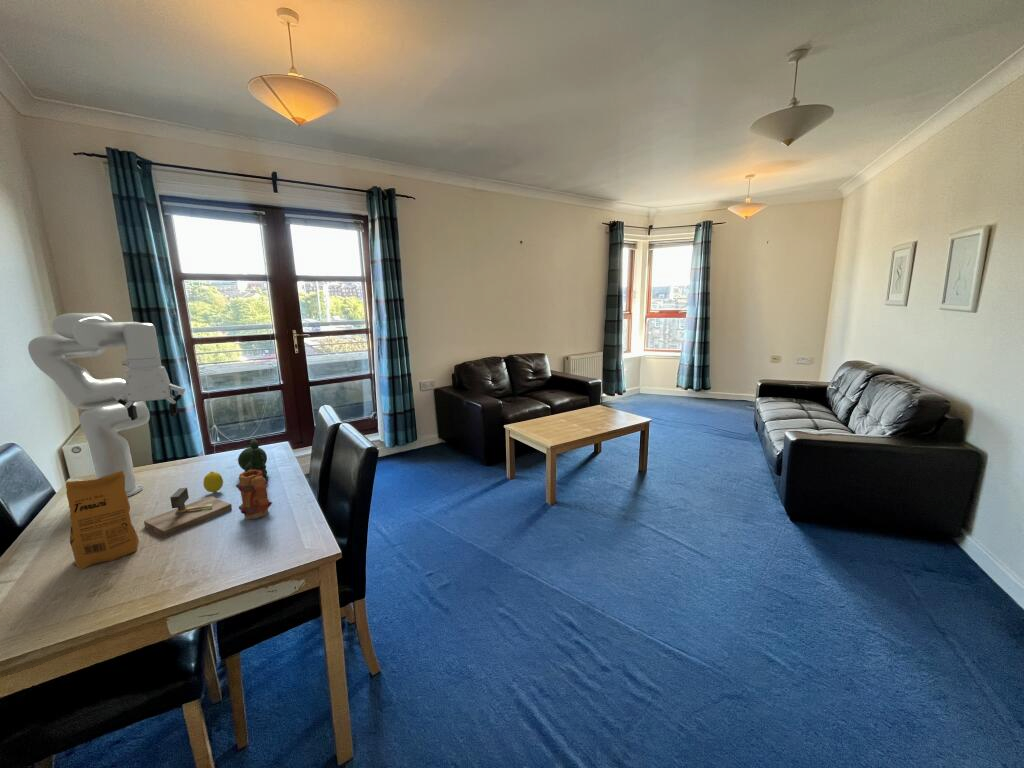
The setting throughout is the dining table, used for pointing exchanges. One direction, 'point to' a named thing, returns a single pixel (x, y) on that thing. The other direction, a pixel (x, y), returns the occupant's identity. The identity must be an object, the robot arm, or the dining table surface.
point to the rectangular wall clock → (186, 517)
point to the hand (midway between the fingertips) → (154, 417)
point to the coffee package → (100, 520)
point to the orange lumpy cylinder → (253, 494)
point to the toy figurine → (253, 458)
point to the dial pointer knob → (183, 501)
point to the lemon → (213, 482)
